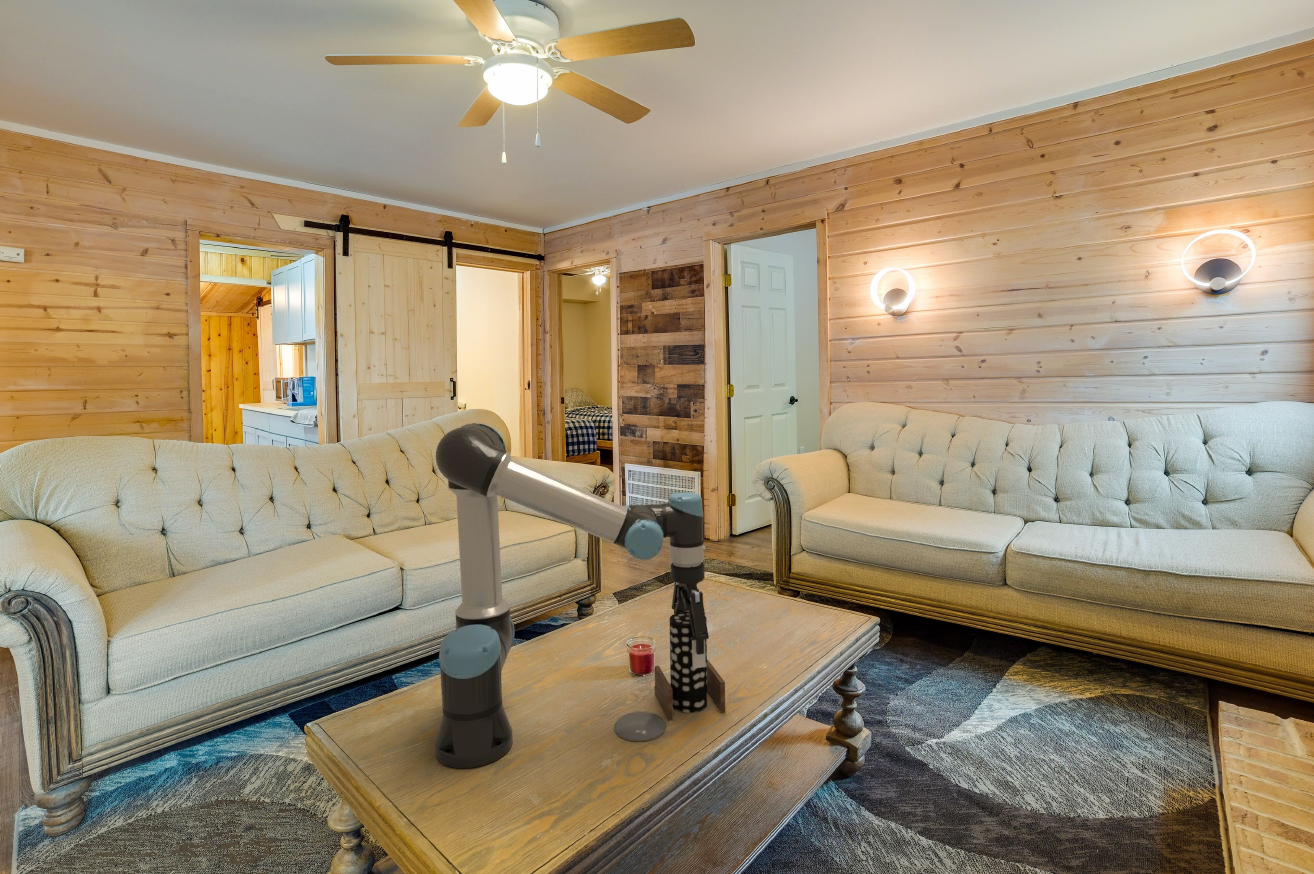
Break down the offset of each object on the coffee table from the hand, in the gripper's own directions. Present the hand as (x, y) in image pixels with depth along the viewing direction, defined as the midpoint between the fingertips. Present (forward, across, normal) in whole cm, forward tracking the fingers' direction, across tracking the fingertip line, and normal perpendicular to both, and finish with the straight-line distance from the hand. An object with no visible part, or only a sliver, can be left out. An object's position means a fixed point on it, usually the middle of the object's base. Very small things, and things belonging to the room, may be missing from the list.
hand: (689, 654), depth 149 cm
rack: (+12, 0, 0) cm, 12 cm away
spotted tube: (+12, 0, 0) cm, 12 cm away
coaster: (+11, -7, +14) cm, 19 cm away
